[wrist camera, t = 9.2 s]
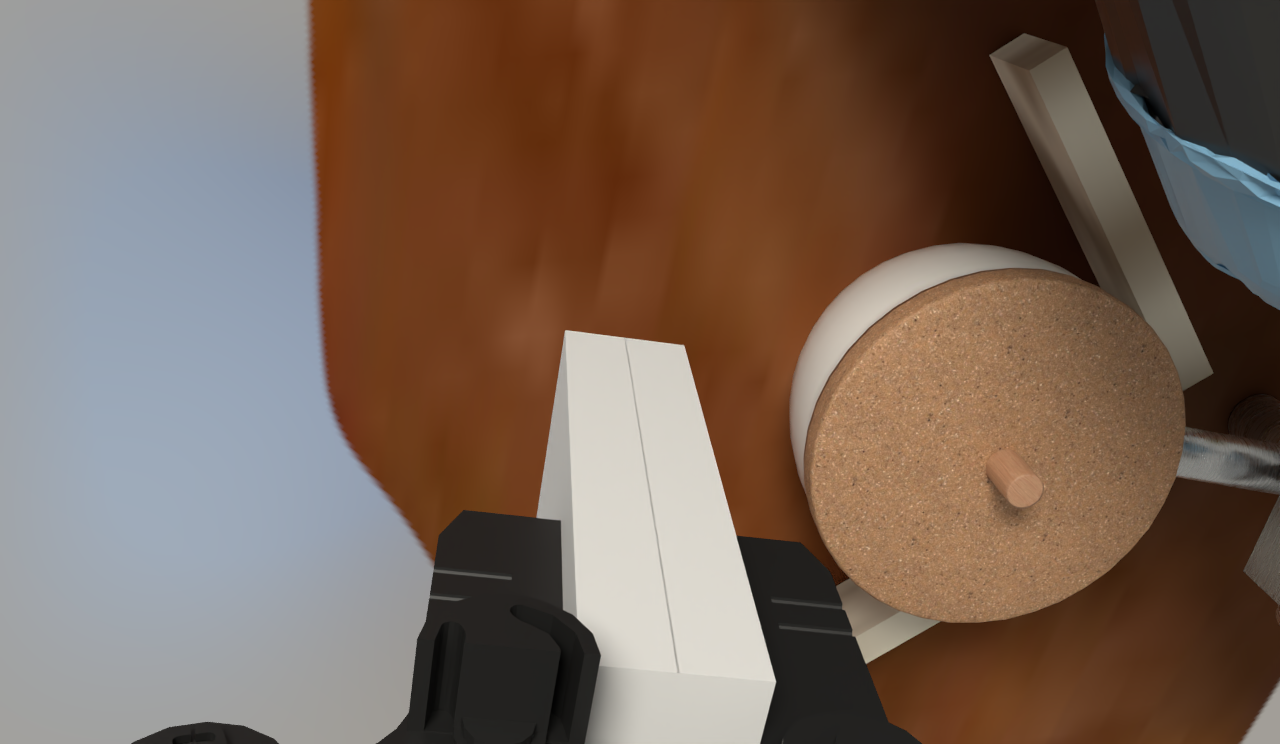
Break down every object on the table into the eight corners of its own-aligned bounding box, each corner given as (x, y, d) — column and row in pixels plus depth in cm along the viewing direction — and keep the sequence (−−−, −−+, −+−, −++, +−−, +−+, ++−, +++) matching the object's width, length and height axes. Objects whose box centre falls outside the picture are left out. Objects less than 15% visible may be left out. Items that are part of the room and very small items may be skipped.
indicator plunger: (1113, 373, 38) (1164, 416, 35) (1300, 408, 39) (1364, 452, 36) (1077, 463, 39) (1124, 511, 36) (1259, 494, 40) (1319, 543, 37)
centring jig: (998, 27, 36) (1039, 40, 33) (1268, 92, 38) (1328, 110, 35) (802, 621, 44) (822, 672, 41) (1034, 653, 46) (1068, 704, 43)
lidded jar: (935, 130, 37) (1065, 211, 29) (1129, 349, 41) (1295, 478, 32) (688, 366, 39) (741, 506, 31) (893, 552, 43) (991, 724, 35)
